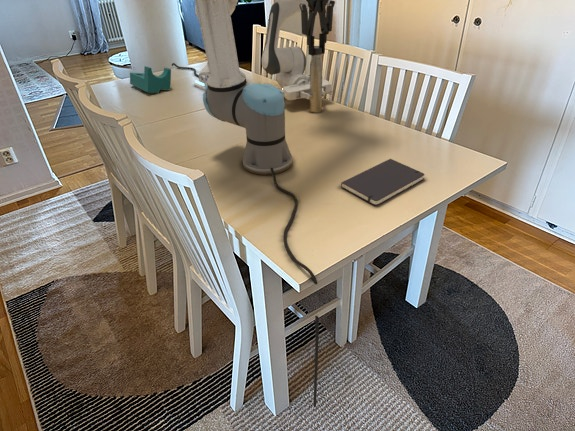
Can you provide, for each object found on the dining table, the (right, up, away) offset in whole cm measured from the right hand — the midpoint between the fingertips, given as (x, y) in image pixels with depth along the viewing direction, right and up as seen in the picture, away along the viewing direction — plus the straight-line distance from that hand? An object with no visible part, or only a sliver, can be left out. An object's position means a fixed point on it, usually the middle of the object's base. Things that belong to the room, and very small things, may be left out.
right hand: (316, 53), depth 148 cm
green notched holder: (-74, 0, +40) cm, 84 cm away
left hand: (+1, -13, +8) cm, 15 cm away
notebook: (+17, -50, -34) cm, 63 cm away
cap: (0, +2, -1) cm, 2 cm away
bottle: (0, -18, +13) cm, 22 cm away
